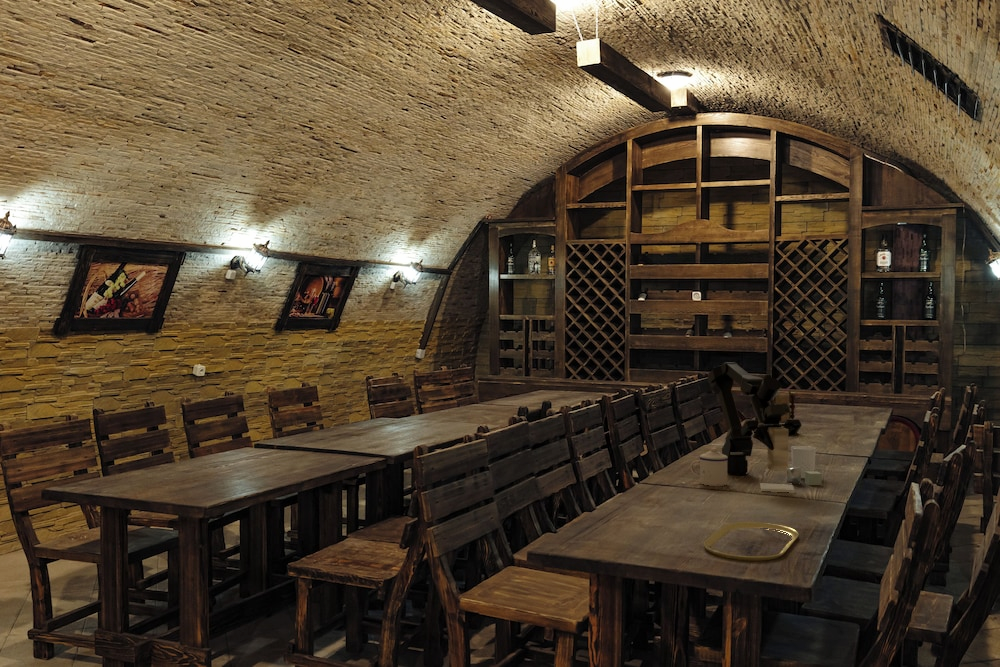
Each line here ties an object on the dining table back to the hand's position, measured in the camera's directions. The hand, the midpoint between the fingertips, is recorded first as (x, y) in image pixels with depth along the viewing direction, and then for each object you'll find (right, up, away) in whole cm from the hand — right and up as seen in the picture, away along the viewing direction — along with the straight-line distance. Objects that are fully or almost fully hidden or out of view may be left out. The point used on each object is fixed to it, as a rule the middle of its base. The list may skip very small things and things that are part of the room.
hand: (779, 449), depth 286 cm
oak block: (0, -7, +2) cm, 7 cm away
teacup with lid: (-20, -13, +11) cm, 26 cm away
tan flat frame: (-26, -15, -63) cm, 70 cm away
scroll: (+41, -9, +130) cm, 137 cm away
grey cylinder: (+8, -13, +12) cm, 20 cm away
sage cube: (+14, -13, +11) cm, 22 cm away
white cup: (+15, -13, +24) cm, 31 cm away
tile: (0, -13, +2) cm, 13 cm away
